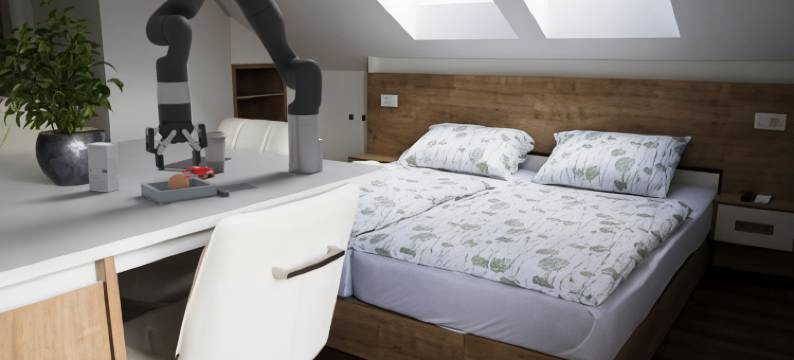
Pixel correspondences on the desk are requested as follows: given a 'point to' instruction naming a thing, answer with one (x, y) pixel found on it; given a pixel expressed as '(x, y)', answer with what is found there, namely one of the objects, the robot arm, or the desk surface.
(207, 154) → the cup
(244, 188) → the tee mat
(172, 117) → the robot arm
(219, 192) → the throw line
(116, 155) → the skincare box
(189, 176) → the race car
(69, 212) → the desk surface
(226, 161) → the notebook
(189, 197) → the blue-grey tray
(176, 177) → the ball
